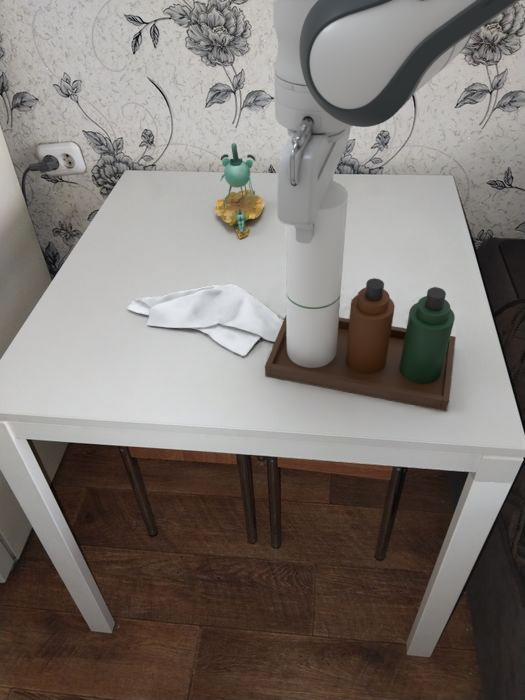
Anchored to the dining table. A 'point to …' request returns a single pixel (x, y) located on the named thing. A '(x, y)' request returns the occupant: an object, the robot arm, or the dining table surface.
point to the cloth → (214, 315)
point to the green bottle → (427, 337)
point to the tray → (375, 384)
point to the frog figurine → (238, 194)
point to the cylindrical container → (316, 283)
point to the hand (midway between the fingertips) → (314, 217)
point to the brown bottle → (369, 328)
